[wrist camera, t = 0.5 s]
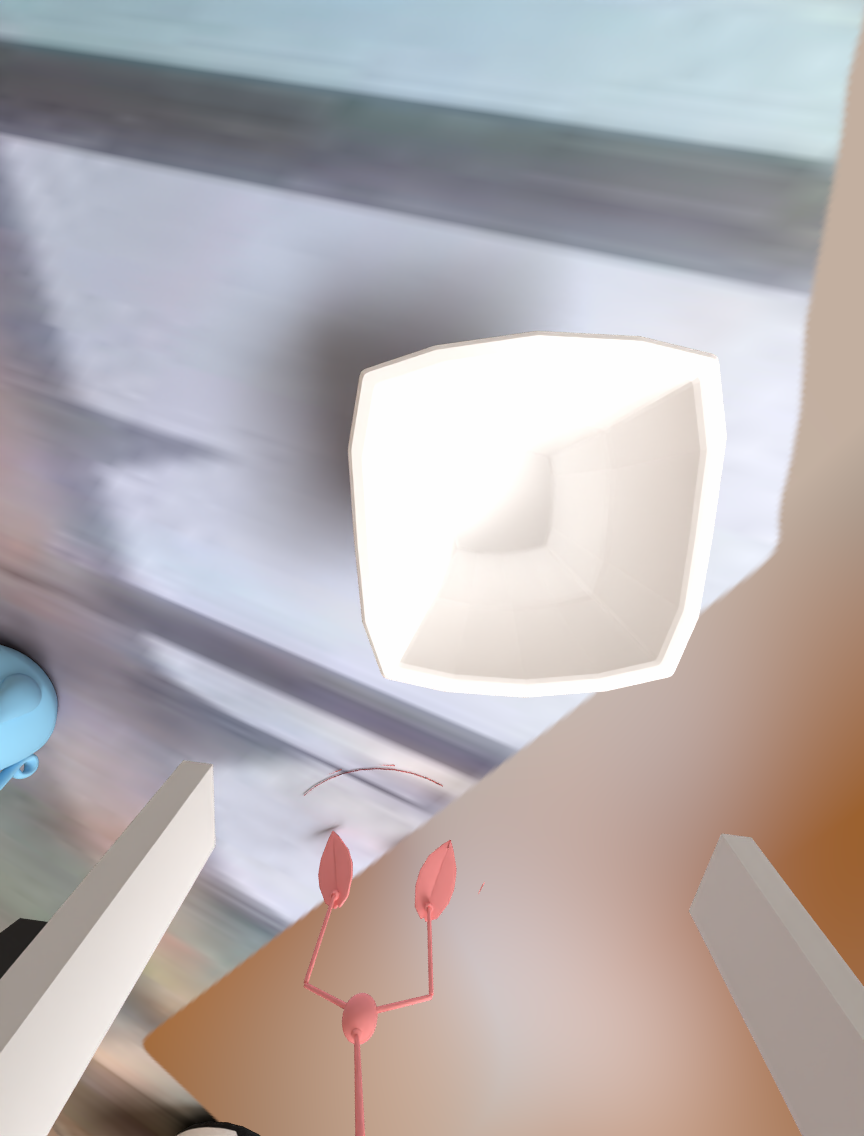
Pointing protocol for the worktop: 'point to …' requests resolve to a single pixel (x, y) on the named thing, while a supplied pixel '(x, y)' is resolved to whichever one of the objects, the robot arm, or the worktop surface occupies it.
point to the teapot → (23, 713)
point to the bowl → (535, 510)
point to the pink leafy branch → (429, 904)
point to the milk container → (216, 1130)
